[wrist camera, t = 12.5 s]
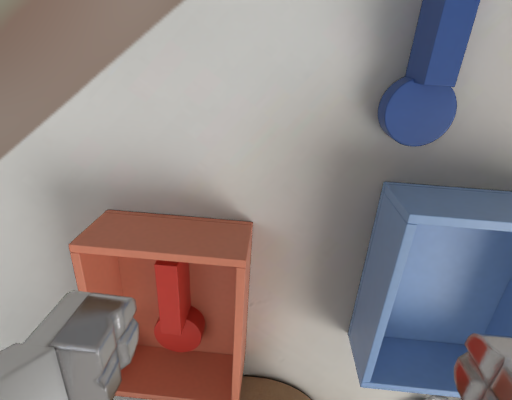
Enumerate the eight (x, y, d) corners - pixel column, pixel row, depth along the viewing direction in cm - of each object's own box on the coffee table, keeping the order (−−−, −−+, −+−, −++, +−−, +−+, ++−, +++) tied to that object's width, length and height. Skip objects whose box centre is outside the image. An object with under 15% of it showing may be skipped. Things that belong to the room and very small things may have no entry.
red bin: (107, 209, 25) (67, 244, 20) (252, 221, 24) (246, 260, 20) (127, 343, 31) (100, 394, 26) (244, 355, 30) (238, 409, 26)
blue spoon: (410, -51, 17) (435, -71, 14) (489, -48, 17) (529, -67, 14) (371, 138, 21) (384, 150, 18) (434, 142, 21) (457, 156, 18)
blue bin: (383, 181, 22) (409, 213, 18) (552, 194, 22) (623, 231, 17) (347, 333, 28) (360, 387, 24) (479, 346, 28) (518, 404, 23)
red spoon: (152, 240, 25) (136, 263, 22) (203, 244, 25) (194, 267, 22) (162, 335, 29) (149, 364, 26) (205, 339, 29) (198, 369, 26)
